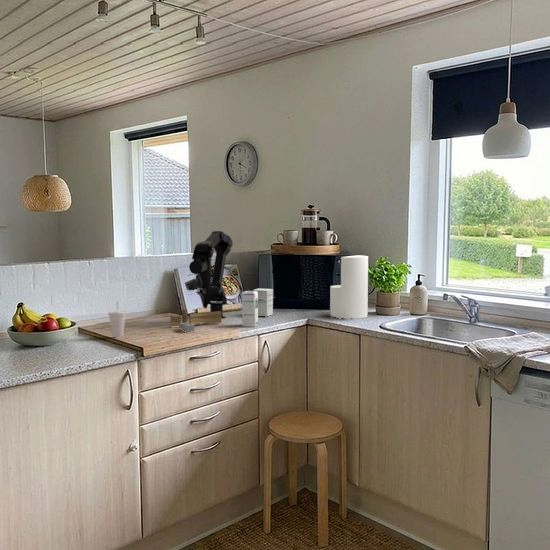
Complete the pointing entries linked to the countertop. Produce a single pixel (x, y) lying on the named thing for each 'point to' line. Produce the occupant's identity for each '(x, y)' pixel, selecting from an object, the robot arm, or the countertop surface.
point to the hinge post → (179, 318)
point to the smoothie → (117, 322)
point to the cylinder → (351, 289)
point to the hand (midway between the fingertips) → (205, 308)
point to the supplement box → (265, 302)
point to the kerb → (186, 326)
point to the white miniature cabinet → (250, 308)
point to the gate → (205, 317)
